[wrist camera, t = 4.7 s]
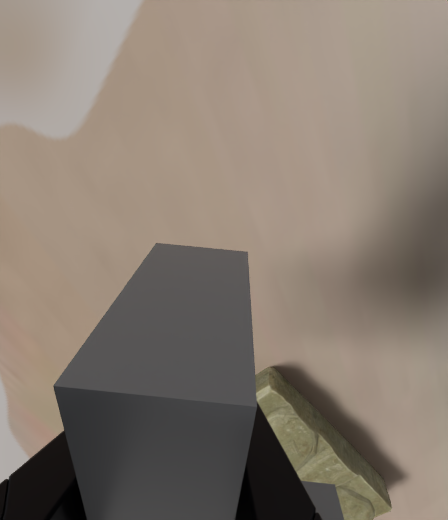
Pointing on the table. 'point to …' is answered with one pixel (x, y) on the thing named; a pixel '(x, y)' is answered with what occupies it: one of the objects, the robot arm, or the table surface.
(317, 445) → the decorative tile
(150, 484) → the grey piece
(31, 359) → the table surface
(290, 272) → the table surface
